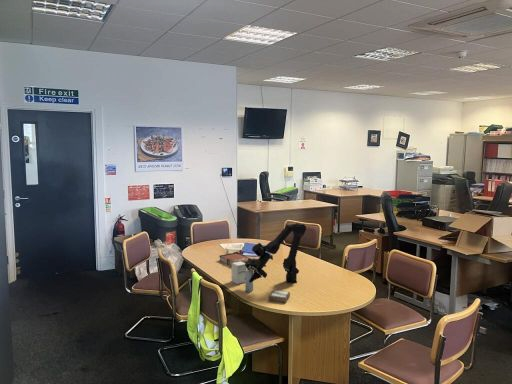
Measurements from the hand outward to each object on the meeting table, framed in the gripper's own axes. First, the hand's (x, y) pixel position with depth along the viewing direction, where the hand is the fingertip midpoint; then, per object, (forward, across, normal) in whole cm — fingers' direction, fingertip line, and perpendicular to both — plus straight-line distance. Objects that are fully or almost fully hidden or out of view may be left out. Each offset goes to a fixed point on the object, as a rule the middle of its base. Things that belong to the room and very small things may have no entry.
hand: (247, 280), depth 245 cm
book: (-12, -55, +22) cm, 60 cm away
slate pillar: (+4, 0, +6) cm, 7 cm away
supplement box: (+2, -18, +8) cm, 19 cm away
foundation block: (-2, +20, +12) cm, 24 cm away
